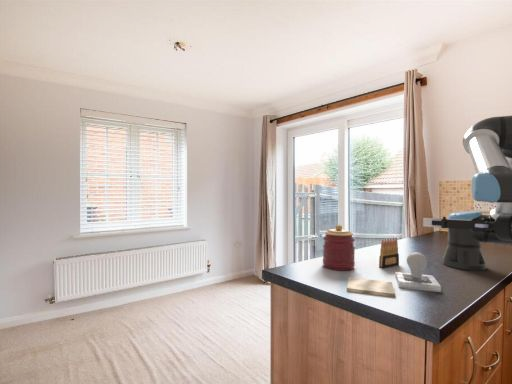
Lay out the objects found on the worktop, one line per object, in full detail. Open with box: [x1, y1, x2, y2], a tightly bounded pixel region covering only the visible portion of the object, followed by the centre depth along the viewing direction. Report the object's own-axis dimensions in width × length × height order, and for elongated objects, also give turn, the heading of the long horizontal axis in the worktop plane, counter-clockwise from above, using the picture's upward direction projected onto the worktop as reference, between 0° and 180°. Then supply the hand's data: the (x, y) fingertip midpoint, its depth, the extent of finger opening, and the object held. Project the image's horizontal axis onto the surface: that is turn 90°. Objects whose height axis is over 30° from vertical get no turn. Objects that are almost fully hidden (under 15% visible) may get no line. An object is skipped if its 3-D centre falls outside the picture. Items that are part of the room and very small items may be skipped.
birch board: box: [346, 276, 396, 298], centre depth 96 cm, size 14×12×1 cm
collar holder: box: [394, 271, 442, 293], centre depth 100 cm, size 12×12×2 cm
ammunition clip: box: [378, 237, 400, 269], centre depth 123 cm, size 11×2×12 cm, turn 120°
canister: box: [322, 224, 356, 271], centre depth 121 cm, size 13×13×18 cm
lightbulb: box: [406, 251, 428, 282], centre depth 100 cm, size 6×6×11 cm
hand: (437, 222), depth 95 cm, fingers open, 13 cm apart
